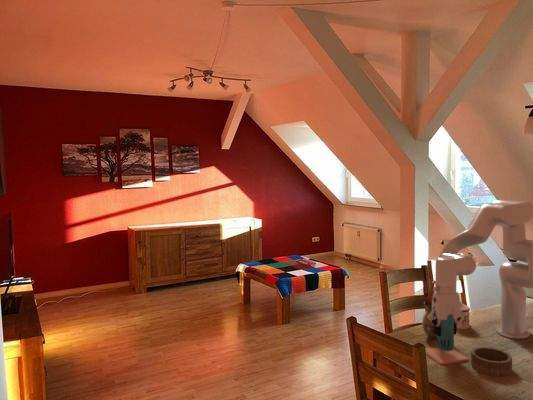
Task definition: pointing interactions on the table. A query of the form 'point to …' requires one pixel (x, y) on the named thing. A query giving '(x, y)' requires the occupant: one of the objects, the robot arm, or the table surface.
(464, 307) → the teacup with lid
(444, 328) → the beverage bottle
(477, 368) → the walnut collar
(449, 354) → the terracotta tile
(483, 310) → the table surface
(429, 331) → the ceramic vessel
